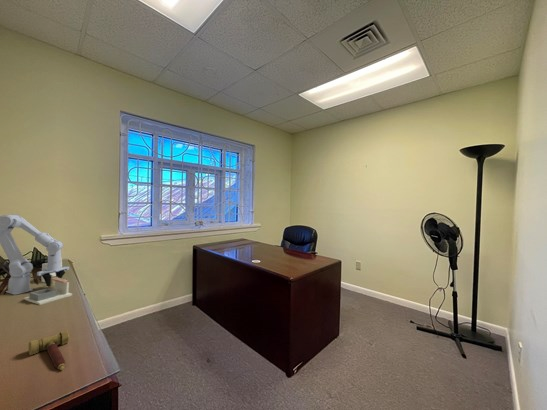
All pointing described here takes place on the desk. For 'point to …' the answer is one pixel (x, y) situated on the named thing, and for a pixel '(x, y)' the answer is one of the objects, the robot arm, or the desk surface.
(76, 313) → the desk surface
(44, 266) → the ink cartridge box
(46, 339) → the gavel
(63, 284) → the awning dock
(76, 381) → the desk surface
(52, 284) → the maple peg
